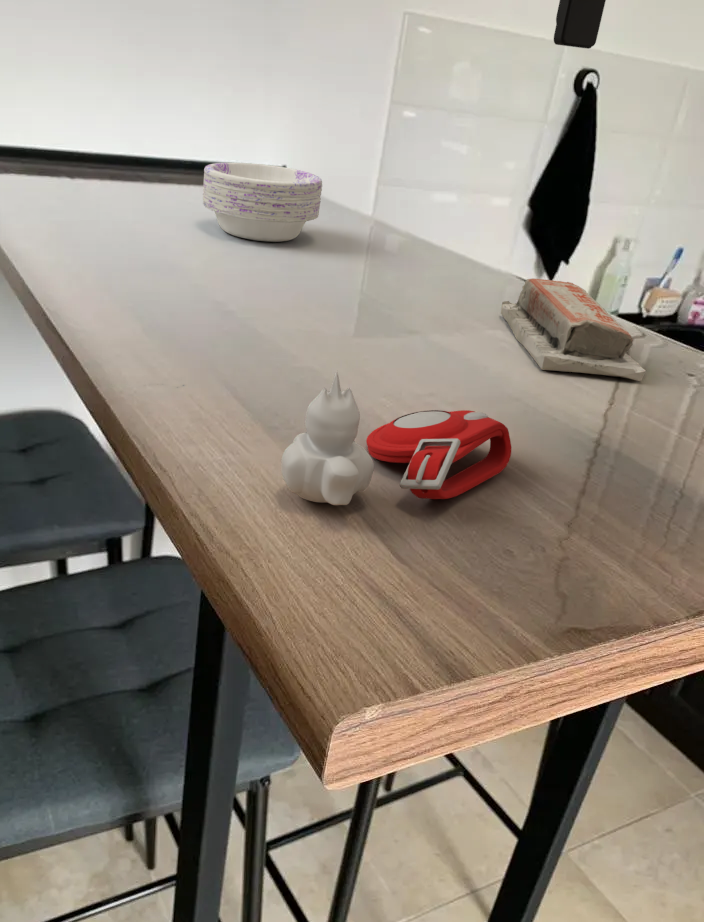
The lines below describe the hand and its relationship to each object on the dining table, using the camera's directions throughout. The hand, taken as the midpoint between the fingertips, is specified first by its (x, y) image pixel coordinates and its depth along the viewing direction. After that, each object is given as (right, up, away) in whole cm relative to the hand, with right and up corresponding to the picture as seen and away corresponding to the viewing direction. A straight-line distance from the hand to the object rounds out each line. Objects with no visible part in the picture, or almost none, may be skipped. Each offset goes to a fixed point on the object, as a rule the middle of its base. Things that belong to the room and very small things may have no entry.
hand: (649, 55), depth 46 cm
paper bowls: (-26, +12, +68) cm, 74 cm away
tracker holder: (-11, -22, +12) cm, 27 cm away
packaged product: (+7, -8, +42) cm, 43 cm away
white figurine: (-17, -24, +7) cm, 30 cm away
